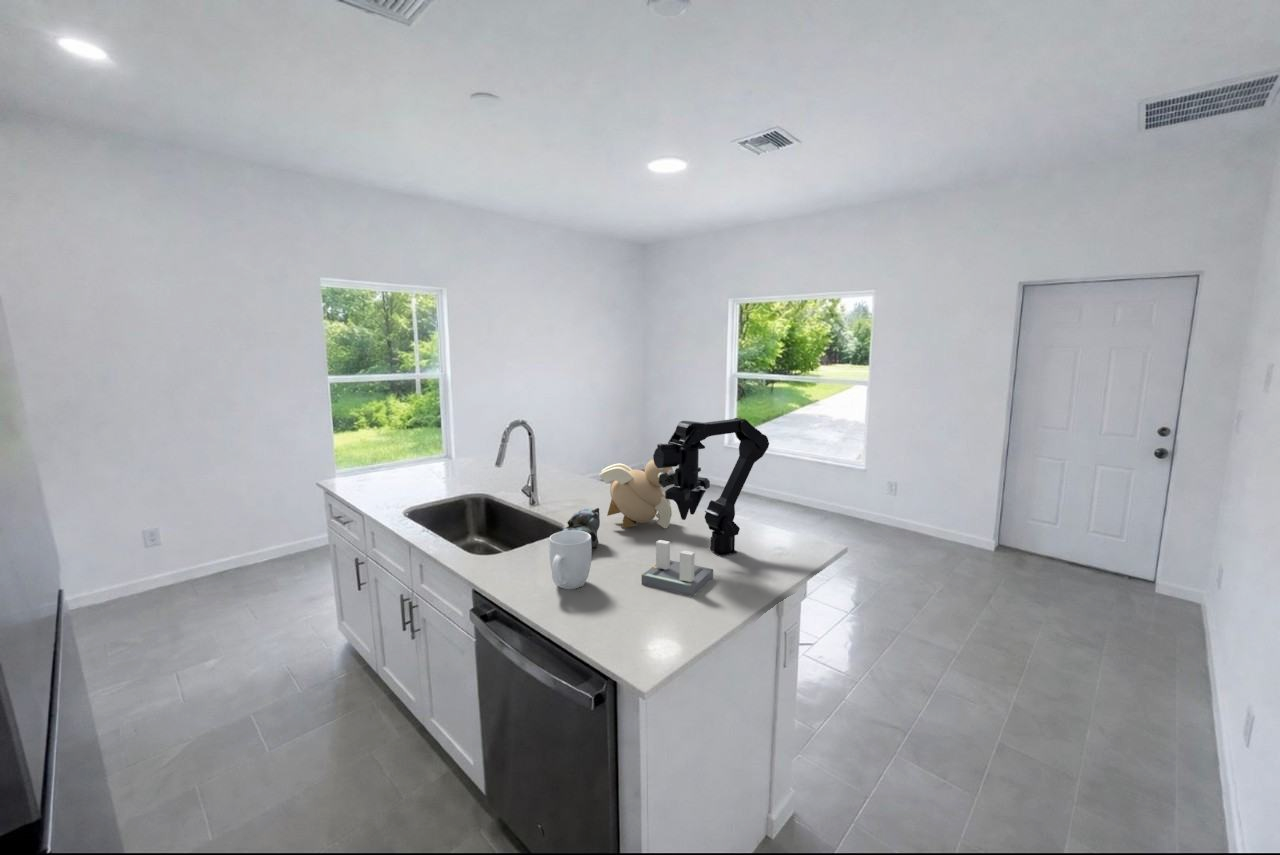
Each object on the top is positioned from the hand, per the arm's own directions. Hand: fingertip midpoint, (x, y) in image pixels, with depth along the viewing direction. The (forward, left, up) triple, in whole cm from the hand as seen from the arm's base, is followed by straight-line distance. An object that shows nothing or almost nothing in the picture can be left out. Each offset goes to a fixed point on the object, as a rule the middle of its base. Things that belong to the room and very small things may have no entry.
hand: (687, 516), depth 158 cm
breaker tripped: (+12, +10, -10) cm, 18 cm away
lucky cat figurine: (+28, -22, -13) cm, 38 cm away
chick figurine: (+3, -36, -13) cm, 38 cm away
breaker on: (+9, +19, -10) cm, 23 cm away
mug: (+37, +6, -13) cm, 40 cm away
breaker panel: (+9, +13, -13) cm, 20 cm away
